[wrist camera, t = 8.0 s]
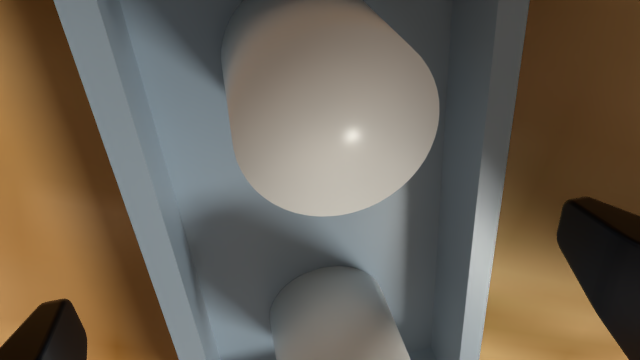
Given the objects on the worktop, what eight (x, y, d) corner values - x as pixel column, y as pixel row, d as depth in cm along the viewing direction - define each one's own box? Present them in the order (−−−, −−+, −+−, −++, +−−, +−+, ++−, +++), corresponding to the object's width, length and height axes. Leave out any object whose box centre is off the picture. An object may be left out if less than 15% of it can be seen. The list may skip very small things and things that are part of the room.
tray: (439, 339, 15) (494, 451, 13) (213, 389, 15) (219, 521, 12) (475, -149, 9) (610, -141, 6) (61, -106, 8) (-10, -73, 5)
